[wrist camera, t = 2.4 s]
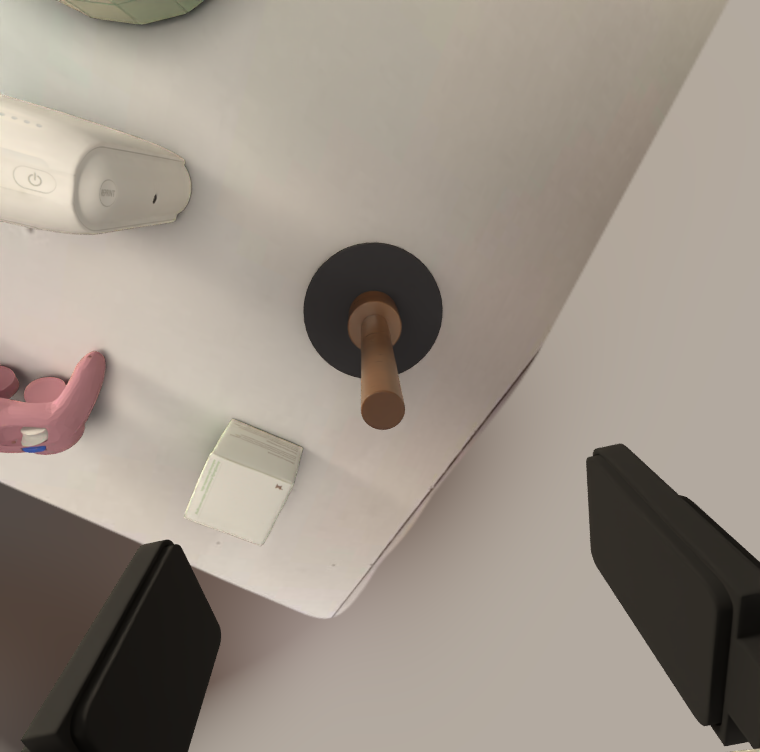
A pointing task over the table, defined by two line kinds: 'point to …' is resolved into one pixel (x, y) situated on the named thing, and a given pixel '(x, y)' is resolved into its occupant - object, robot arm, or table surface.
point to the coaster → (362, 274)
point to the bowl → (132, 9)
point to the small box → (245, 483)
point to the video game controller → (49, 408)
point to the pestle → (377, 357)
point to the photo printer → (83, 174)
